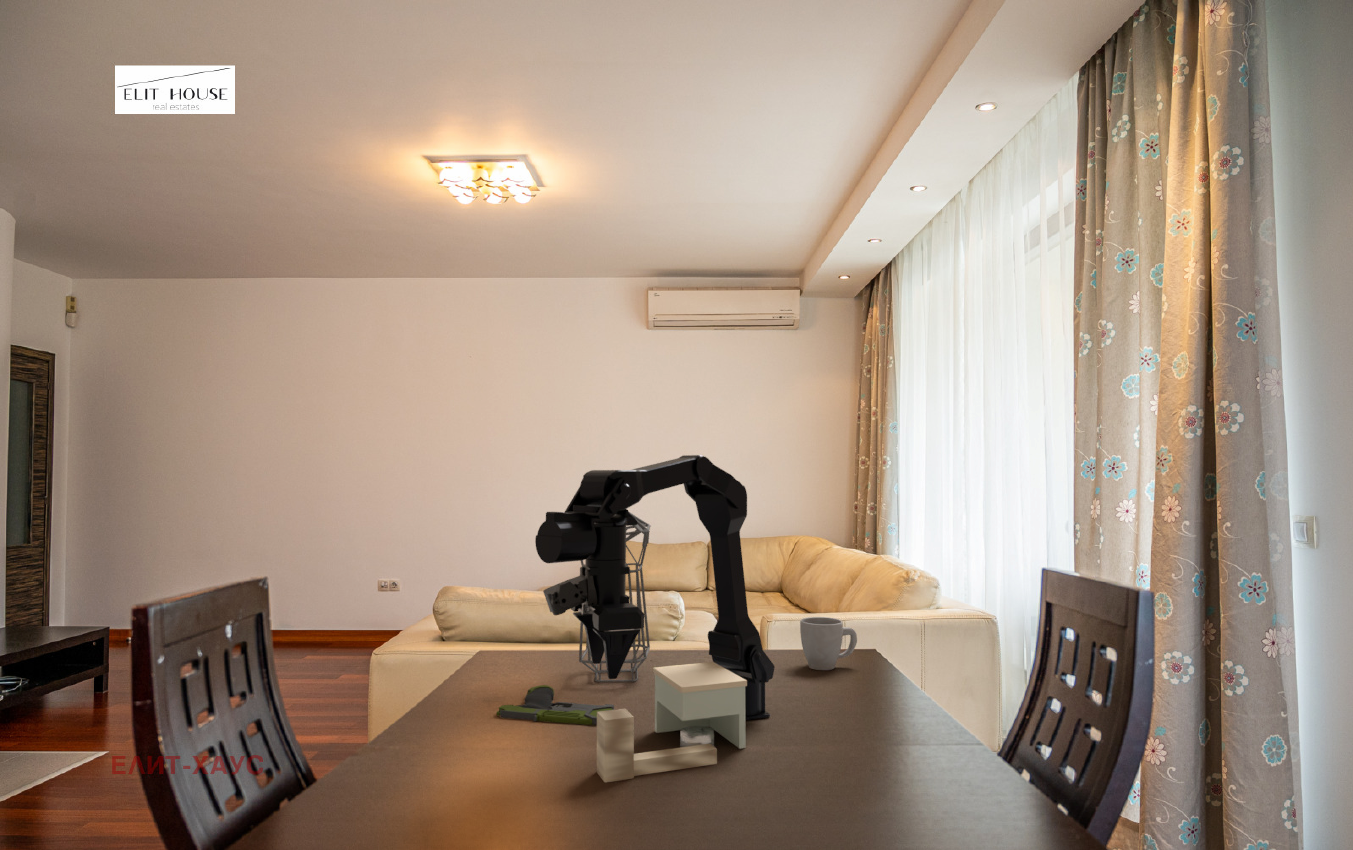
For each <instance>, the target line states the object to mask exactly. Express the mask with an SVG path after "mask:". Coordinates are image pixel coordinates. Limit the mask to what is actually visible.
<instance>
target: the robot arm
mask: <svg viewBox="0 0 1353 850" xmlns="http://www.w3.org/2000/svg"><path fill="white" fill-rule="evenodd" d="M680 485H683V488H684V492H685V493H686V495H688V496H689V498H690V499H691V500H693V502H694V503H695V505H696V506H695V507H696V510H697V514H698V519H699V520H700V522H701V524H702V525H703V526H704V528H705V529H706V531H707V532H708V534H709V539H710V548H711V557H712V559H711V560H712V566H713V568H712V569H713V578H714V586H715V595H716V596H715V597H716V606H717V615H718V617H717V618H718V619H717V622H716V623H715V625H714V628H713V629H712V630H709V631H708V632H707V641H708V645H709V647H708V648H709V649H708V655H709V656H711V659H712V662H714V663H716V664H718V665H720V666H722V667H723V668H725V669H727V670H729V671H731V672H732V673H734V674H736V675H738V676H740V677H742V678H743V679H745V680H747V686H745V721H746V720H754V719H763V718H764V719H766V718H770V717H771V713H770V712H768V711H766V683H769V681H770V680H772V679H773V677H774V673H775V664H774V663H773V662H772V660H771V659H770V658H769V656H768V655H767V653H766V652H765V651H764V649H763V645H762V640H761V636H760V632H759V630H758V629H757V627H756V625H755V624H754V622H753V621H752V619H751V618H750V617H749V611H748V602H747V592H746V583H745V571H744V565H743V564H744V563H743V562H744V561H743V551H742V543H741V532H740V531H741V529H742V527H743V525H744V523H745V521H746V519H747V516H748V492H747V489H746V486H745V485H743V483H741V482H740V481H739V480H737V479H736V478H735V477H734V476H733V475H732V474H731V473H729V472H727V471H725V470H724V469H722V468H720V467H719V466H717V465H715V464H714V463H713V462H712V461H711V460H710V459H709V458H708V457H707V456H705V455H702V454H691V455H690V454H689V455H685V454H683V455H681V456H680V457H678V458H673V459H669V460H666V461H661V462H656V463H653V464H649V465H645V466H642V467H641V466H640V467H637V468H633V469H593V470H589V471H587V472H585V473H584V474H583V476H582V479H581V481H580V486H579V487H578V489H577V491H576V492H575V494H574V495H573V496H572V497H573V498H572V499H571V501H570V502H569V504H568V506H567V507H566V509H565V510H564V512H562V511H546V512H545V520H544V521H543V522H542V523H541V525H540V526H539V528H538V530H537V534H536V535H535V539H534V540H535V549H536V552H537V555H538V557H539V558H540V560H541V561H542V562H544V563H545V564H557V563H568V562H581V561H582V560H583V561H584V562H585V563H584V565H581V566H580V567H579V575H578V576H574V577H572V578H570V579H566V580H564V581H562V582H559V583H557V584H554V585H552V586H549V587H547V588H545V589H544V590H543V595H544V597H545V601H546V603H547V606H548V609H549V612H550V613H552V614H553V615H554V616H560V615H563V614H565V613H566V612H567V611H568V610H571V611H573V612H572V614H573V616H574V617H575V618H576V619H577V620H578V621H579V622H580V623H581V622H582V623H583V628H584V631H585V635H586V639H587V640H588V645H589V649H590V654H591V661H592V662H593V664H594V665H596V664H599V665H600V662H601V661H603V656H604V659H605V661H606V663H605V666H606V670H607V672H606V673H607V678H608V680H617V679H618V676H619V675H620V673H621V672H620V670H622V667H623V665H624V664H625V663H624V661H625V660H627V656H628V654H629V652H630V650H631V648H632V647H631V646H632V644H633V642H634V640H635V641H636V638H637V637H638V634H639V633H640V634H641V629H642V628H644V629H645V618H644V611H643V610H642V611H641V610H640V609H639V608H638V607H637V605H635V604H631V603H630V599H629V595H627V594H626V589H627V587H626V580H627V578H626V577H627V575H628V574H630V575H631V573H630V570H631V568H630V565H628V566H626V563H627V548H626V545H627V542H626V538H627V535H626V532H627V531H626V527H627V526H632V525H637V524H638V521H637V520H636V519H635V518H634V517H633V516H632V515H631V514H630V513H631V512H630V511H629V510H628V509H629V508H631V507H632V506H635V505H636V504H638V503H640V502H641V500H642V499H643V497H646V496H647V495H649V494H652V493H655V492H659V491H663V490H666V489H670V488H672V487H677V486H680ZM629 512H630V513H629Z"/></svg>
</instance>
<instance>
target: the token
mask: <svg viewBox="0 0 1353 850" xmlns="http://www.w3.org/2000/svg"><path fill="white" fill-rule="evenodd" d="M679 732H680V734H679V735H680V737H679V738H680V739H679V742H680V743H679V744H680V745H679V746H680V747H679V748H681V747H688V746H696V745H703V744H711V745H712V746H714V747H715V730H714V729H713V728H711V727H710V726H708V727H707V726H699V725H695V726H687V727H684V728H682V729H681V730H679Z"/></svg>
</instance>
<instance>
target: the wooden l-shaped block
mask: <svg viewBox="0 0 1353 850" xmlns="http://www.w3.org/2000/svg"><path fill="white" fill-rule="evenodd" d="M634 728H635V716H634V715H632V714H631V713H630V711H628V709H626V708H619V709H618V708H617V709H614V710H608V711H599V712H597V725H596V773H597V774H598V775H599V777H600V778H601V780H602V781H603V783H610V782H611V783H612V782H618V781H625V780H626V781H627V780H632V779H634V778H635V777H636V776H641V775H650V774H657V773H662V772H669V771H675V770H676V771H677V770H683V769H690V768H697V767H703V766H712V765H717V764H718V749H717V748H716V746H715V745H714V746H712V745H711V744H703V745H696V746H688V747H681V748H680V747H674V748H666V749H660V750H653V751H644V752H638V753H637V752H636V753H635V750H634V749H635V748H634V746H635V745H634V744H635V742H634V741H635V738H634V737H635V729H634Z"/></svg>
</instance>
